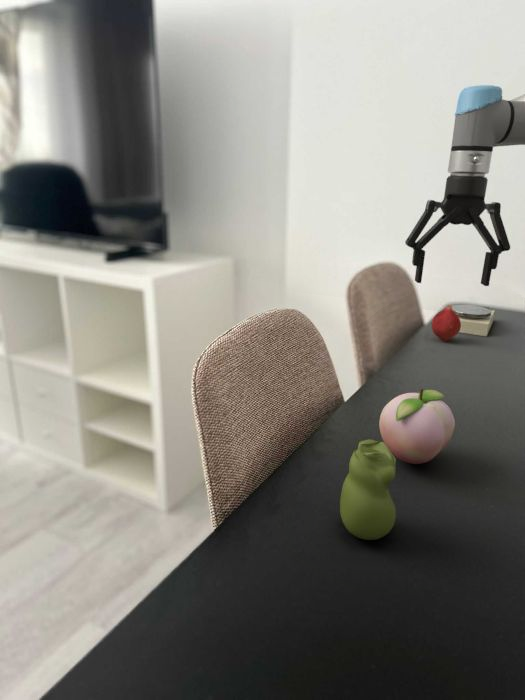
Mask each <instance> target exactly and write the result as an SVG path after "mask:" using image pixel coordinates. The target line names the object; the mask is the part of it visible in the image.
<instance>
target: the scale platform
mask: <svg viewBox="0 0 525 700" xmlns="http://www.w3.org/2000/svg"><path fill="white" fill-rule="evenodd" d="M459 304H460V305H459ZM459 304H452V305H451V306H452V310H453V311H454V312H455V313H456V314H457V315H460V316H465V317H474V318H483V317H489V316H490V315H491V310H492V309H490V308H489V309H487V308H484V307H485V306H480V305H474V304H464V305H463V303H459Z"/></svg>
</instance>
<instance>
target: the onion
mask: <svg viewBox="0 0 525 700" xmlns="http://www.w3.org/2000/svg"><path fill="white" fill-rule="evenodd" d="M460 327H461V322H460V319H459V317H458V315H457V314H456V313H455V312H454V311H453V310H452V305H447V306H446V307H445V308H443V309H442V310H440V311H438V312H437V313H436V314H435V315H434V317H433V319H432V320H431V331H432V333H433V334H434V336H436V337H437V338H438V339H439V340H440V341H441V342H448V341H449V340H451V339H452V338H454V337H456V336H457V335H458V334H459V333H460V332H459V331H460Z"/></svg>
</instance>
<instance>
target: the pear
mask: <svg viewBox="0 0 525 700" xmlns="http://www.w3.org/2000/svg"><path fill="white" fill-rule="evenodd" d="M396 461H397V460H396V456H394V455H393V454H392V453H391V451H390V450H389V449H388V448H387V446H386V444H385V443H384V441H377V440H374V439H372V438H371V439H370V438H369V439H365V440H361V441H359V442H358V446H357V449H354V451H353V453H352V455H351V456H350V459H349V463H348V473H347V475H346V477H345V479H344V480H343V484H342V487H341V493H340V501H339V512H340V513H339V514H340V517H341V521H342V523H343V526H344V527H345V529H346V530H347V531H348V532H349V533H350V534H351V535H353V536H354V537H356V538H358V539H361V540H365V541H374V540H380V539H381V538H383V537H385V536H387V534H389V533H390V532H391V530H393V527H394V525H395V523H396V518H397V511H396V506H395V502H394V501H393V499H392V497H391V493H390V491H389V489H388V486H389V485H390V484H391V483H392V482H393V481H394V479H395V477H396V473H397V471H396V465H397V464H396V463H397V462H396Z"/></svg>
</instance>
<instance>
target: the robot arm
mask: <svg viewBox="0 0 525 700" xmlns="http://www.w3.org/2000/svg"><path fill="white" fill-rule="evenodd" d="M452 131H453V132H452V141H451V146H450V147H451V148H450V153H449V160H448V167H447V173H449V174H450V175H448V176H447V177H446V180H445V188H444V197H443V199H442V201H436V200H434V199H428V200H427V201H426V204H425V209H424V211H423V213H422V214H421V216H420V218H419V219H418V220H417V223H415V225H414V227H413V229H412V230H411V232H410V234H409V235H408V237H406V239H405V245H406V246H407V247H409V248H411V249H412V251H413V253H412V261H411V263H412V266H414V267H415V275H414V281H415V283H417V284H422V278H423V272H424V266H425V265H424V264H425V258H426V257H425V256H426V251H425V250H424V249H423V248H424V247H426V246H427V244H428V243H430V242H431V240H433V239H434V238H435V237H436V236H437V235H438V234H439V233H440V232H441V231H442V230H443V229H444V228H445V227H447V226H448V225H449V224H451V225H458V226H459V225H465V226H470V225H472V226H473V227H474V228H475V230H476V231H477V232H478V234H479V236H480V237H481V239H482V240H483V241H484V243H485V244H486V246H487V248H488V250H490V251H486V252H485V256H484V261H483V267H482V274H481V278H480V284H481V285H482V286H484V287H489V286H490V282H491V276H492V270H496V269H497V267H498V262H499V257H500V255H501V254H502V252H508V251H510V250H511V244H510V241H509V238H508V235H507V231H506V228H505V225H504V223H503V218H502V216H501V207H502V206H501V205H502V204H501V203H500V202H497V201H492V202H489V203H486V201H485V197H486V194H487V193H486V192H487V186H488V181H489V179H488V177H487V176H486V175H487V174H489V173H490V168H491V163H492V156H493V151H494V148H496V147H509V146H525V94H523V95H519V96H517V97H515V98H513V99H510V100H506V99H503V90H502V87H501V86H499V85H498V86H497V85H491V84H480V85H479V84H477V85H469V86H467V87H464V88H463V89H462V90H461V91H460V93H459V95H458V99H457V103H456V109H455V112H454V124H453V130H452ZM439 209H440V210H441V212H442V215H441V216H440V217H439V218H438V220H437V221H436V222H435V223H434V224H433V225H432V226H430V228H429V229H428V230H427V231H426V232H425V233H424V234H423V235H422V236H421V237H420V235H421V234H422V232H423V231H424V229H425V228H426V226H427V224H428V223H429V221H430V220H431V219H432V217H433V214H434V213H436V212H437V211H438V210H439ZM485 210H486V213H487V214H489V217H490V221H491V224H492V227H493V230H494V234H495V236H496V240H497V242H496V240H495V239H494V237H493V236H492V234H491V233H490V231H489V229H488V228H487V226H486V225H485V222H484V221H483V219H482V218H481V215H482V214H483V213H484V212H485ZM419 237H420V238H419Z"/></svg>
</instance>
